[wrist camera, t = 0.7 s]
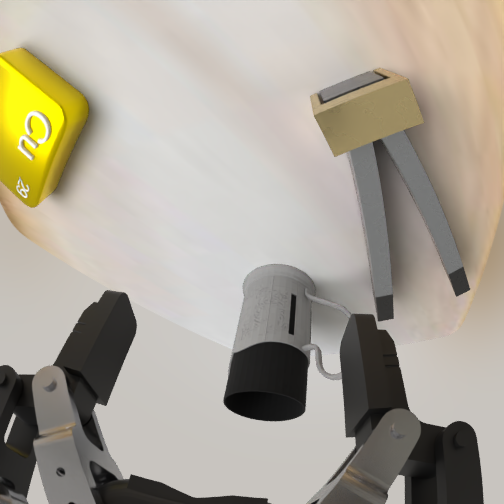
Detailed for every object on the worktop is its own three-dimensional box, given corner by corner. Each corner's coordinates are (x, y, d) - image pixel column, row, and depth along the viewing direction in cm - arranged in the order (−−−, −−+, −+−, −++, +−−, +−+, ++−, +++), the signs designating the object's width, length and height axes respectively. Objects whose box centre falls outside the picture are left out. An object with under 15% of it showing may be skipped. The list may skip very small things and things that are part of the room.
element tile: (18, 41, 20) (-12, 49, 16) (97, 103, 25) (69, 117, 21) (-11, 136, 28) (-34, 151, 24) (54, 196, 33) (32, 217, 29)
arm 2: (367, 120, 23) (379, 136, 19) (384, 110, 22) (400, 124, 18) (444, 269, 31) (456, 296, 27) (457, 262, 30) (470, 289, 26)
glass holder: (228, 282, 37) (197, 395, 26) (331, 229, 30) (341, 360, 19) (271, 322, 41) (256, 427, 29) (368, 281, 34) (383, 401, 22)
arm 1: (340, 127, 24) (347, 144, 20) (360, 123, 23) (371, 139, 20) (373, 292, 35) (378, 321, 31) (387, 289, 34) (393, 318, 31)
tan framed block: (310, 96, 22) (313, 115, 17) (379, 68, 20) (407, 78, 14) (326, 127, 24) (334, 156, 18) (393, 100, 21) (424, 122, 16)
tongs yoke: (319, 91, 22) (323, 101, 19) (369, 71, 20) (383, 77, 17) (335, 122, 24) (342, 138, 20) (383, 103, 22) (399, 116, 18)
